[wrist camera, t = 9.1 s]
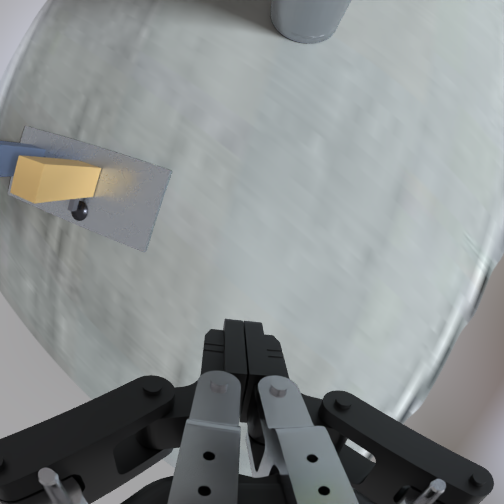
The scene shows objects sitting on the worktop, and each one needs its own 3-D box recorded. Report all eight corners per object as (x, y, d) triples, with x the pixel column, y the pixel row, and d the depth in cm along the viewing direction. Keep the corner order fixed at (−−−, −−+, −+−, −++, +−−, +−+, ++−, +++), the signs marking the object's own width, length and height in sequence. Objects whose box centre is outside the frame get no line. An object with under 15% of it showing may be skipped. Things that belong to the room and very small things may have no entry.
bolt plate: (11, 193, 40) (6, 194, 39) (28, 126, 38) (24, 125, 37) (146, 250, 42) (143, 252, 41) (172, 170, 40) (170, 170, 38)
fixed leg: (17, 184, 39) (-42, 188, 26) (28, 144, 38) (-31, 137, 25) (34, 191, 39) (-26, 197, 27) (45, 149, 38) (-15, 143, 25)
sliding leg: (66, 204, 39) (6, 214, 27) (78, 160, 38) (18, 155, 25) (88, 213, 40) (30, 226, 27) (101, 168, 38) (44, 164, 26)
